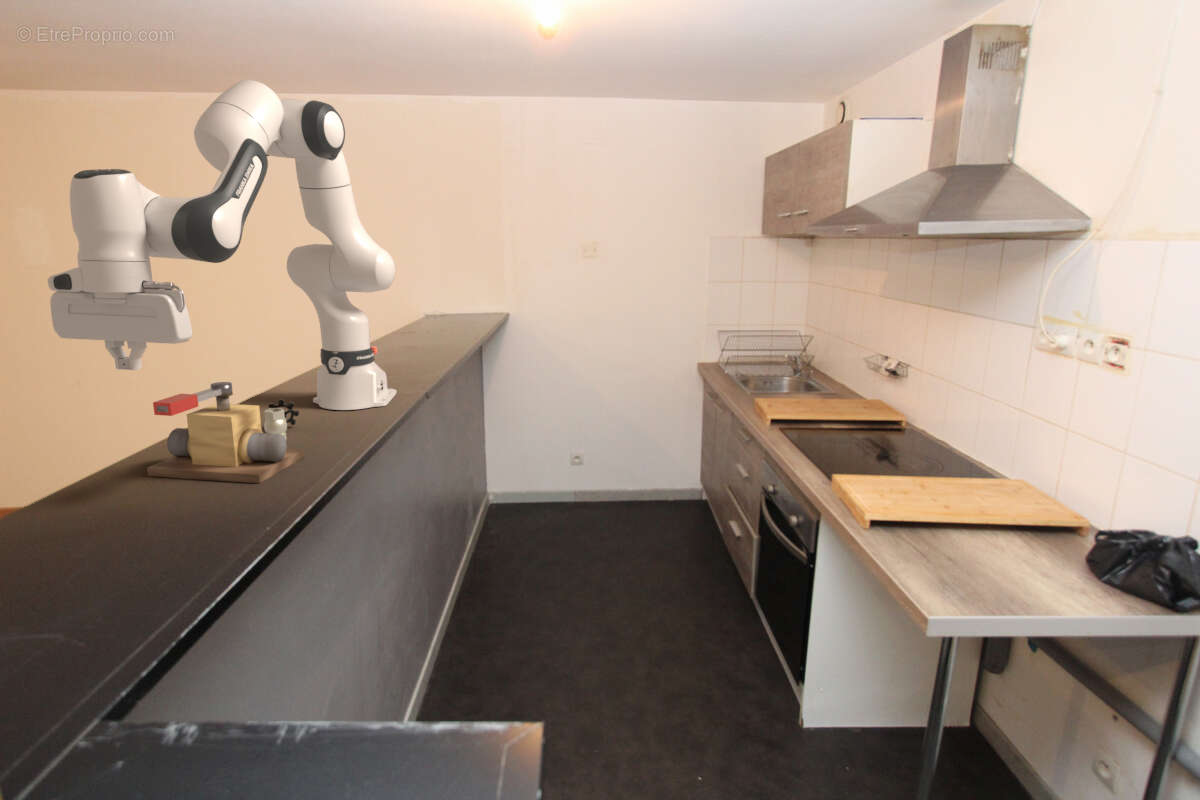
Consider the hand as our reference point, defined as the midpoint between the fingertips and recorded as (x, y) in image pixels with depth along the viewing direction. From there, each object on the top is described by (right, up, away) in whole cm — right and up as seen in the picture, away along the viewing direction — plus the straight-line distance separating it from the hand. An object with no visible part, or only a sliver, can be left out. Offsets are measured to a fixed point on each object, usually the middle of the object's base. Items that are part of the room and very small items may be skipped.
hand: (129, 369), depth 101 cm
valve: (+7, -13, +34) cm, 37 cm away
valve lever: (+7, -5, +6) cm, 11 cm away
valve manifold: (+7, -17, +15) cm, 24 cm away
